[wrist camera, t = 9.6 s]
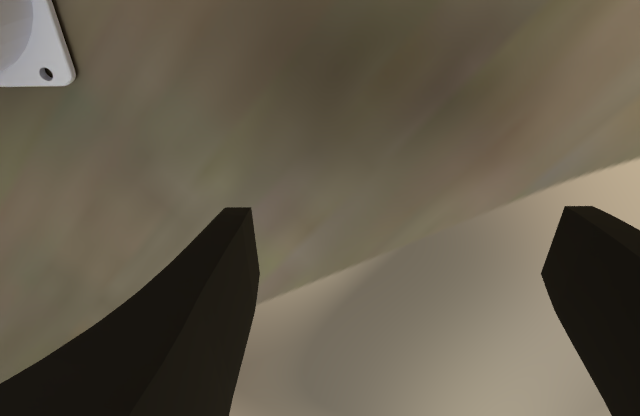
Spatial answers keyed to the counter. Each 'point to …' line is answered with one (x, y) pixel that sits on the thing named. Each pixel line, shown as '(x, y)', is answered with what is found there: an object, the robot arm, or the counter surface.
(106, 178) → the counter surface
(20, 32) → the robot arm
